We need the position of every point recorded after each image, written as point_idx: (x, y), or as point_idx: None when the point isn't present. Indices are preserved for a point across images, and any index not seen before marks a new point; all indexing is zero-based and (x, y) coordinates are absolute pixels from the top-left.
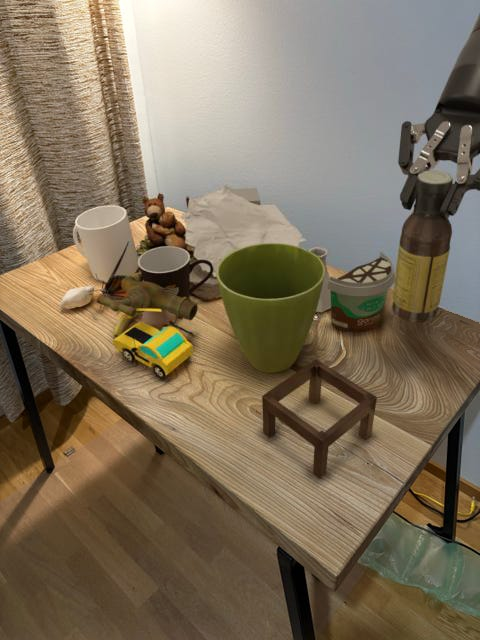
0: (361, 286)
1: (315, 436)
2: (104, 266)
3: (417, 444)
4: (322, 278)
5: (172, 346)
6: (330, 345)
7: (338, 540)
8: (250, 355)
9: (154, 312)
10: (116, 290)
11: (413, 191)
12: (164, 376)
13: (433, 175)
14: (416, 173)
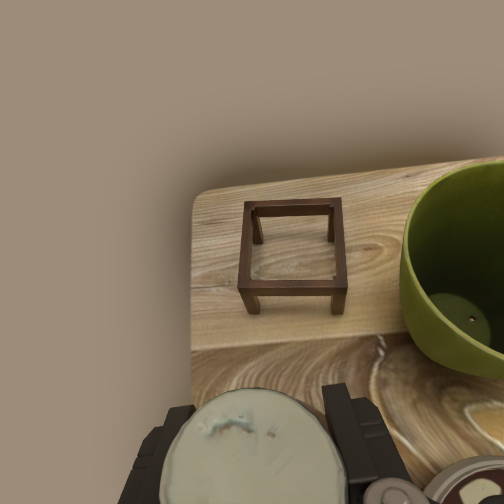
0: (441, 493)
1: (254, 201)
2: None
3: (201, 340)
4: (425, 298)
5: None
6: (415, 423)
7: (205, 208)
8: (444, 268)
9: None
10: None
11: (333, 436)
12: None
13: (264, 496)
14: (369, 488)
